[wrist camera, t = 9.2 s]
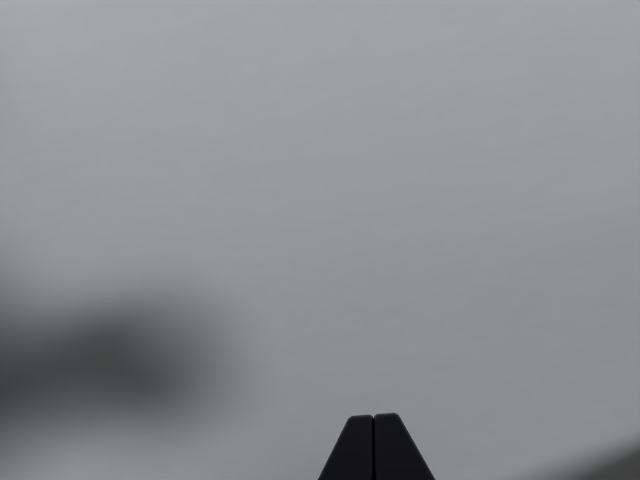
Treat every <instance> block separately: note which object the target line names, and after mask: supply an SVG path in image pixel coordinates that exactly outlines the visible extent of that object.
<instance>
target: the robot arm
mask: <svg viewBox="0 0 640 480" xmlns="http://www.w3.org/2000/svg"><path fill="white" fill-rule="evenodd" d="M318 480H435V478H434V477H433V475H432V473H431V471H430V469H429V468H428V466H427V464H426V462H425V461H424V459H423V457H422V455H421V454H420V452H419V450H418V448H417V447H416V445H415V443H414V441H413V440H412V438H411V436H410V434H409V432H408V431H407V429H406V427H405V425H404V424H403V422H402V420H401V418H400V417H399V415H398V414H396V413H386V414H377V415H375V417H374V418H373V416H371V415H359V416H351V417H350V418H349V419H348V421H347V422H346V424H345V426H344V428H343V430H342V432H341V434H340V436H339V438H338V440H337V442H336V445H335V447H334V449H333V451H332V453H331V455H330V457H329V459H328V461H327V463H326V465H325V467H324V469H323V471H322V473H321V475H320V477H319V479H318Z"/></svg>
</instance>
